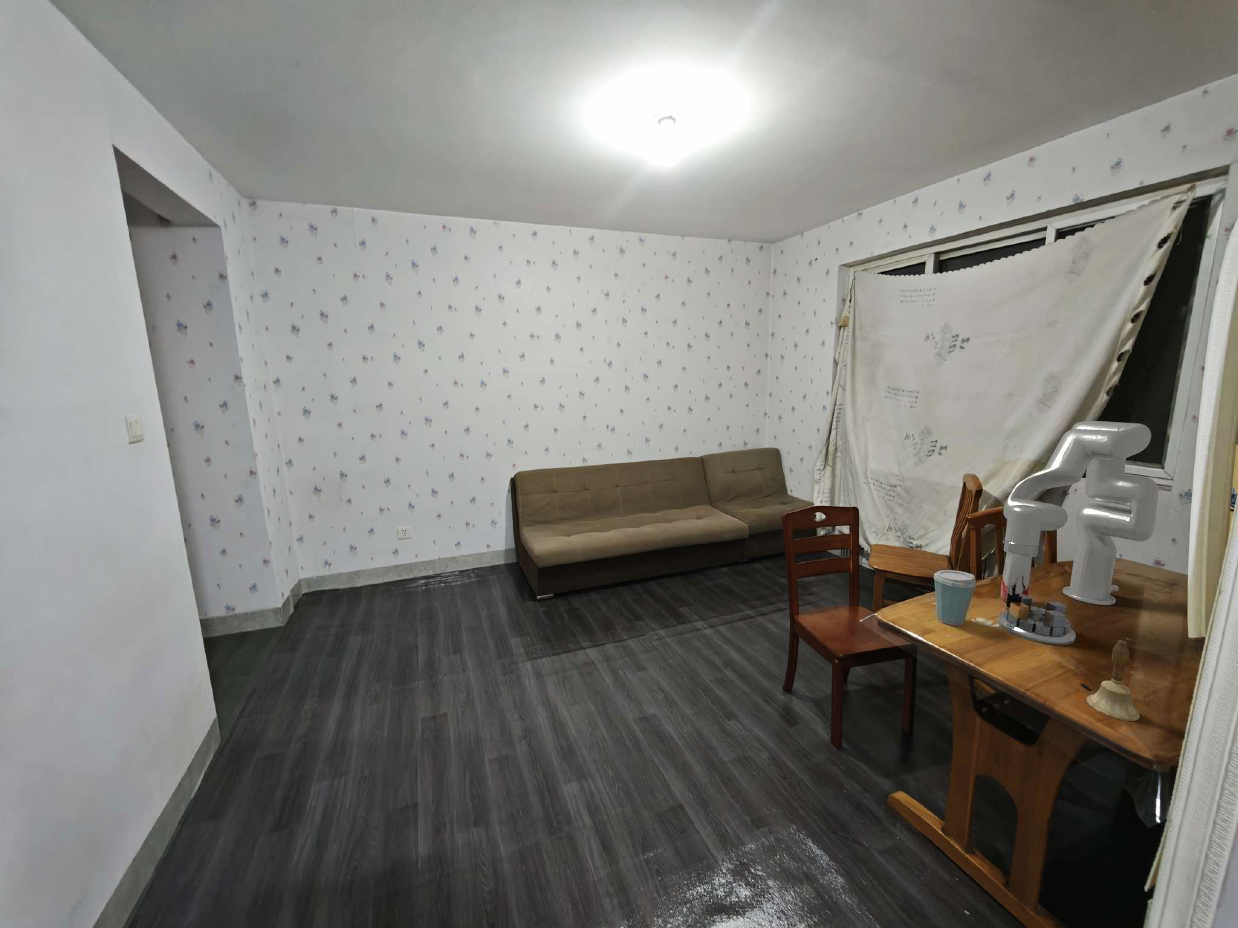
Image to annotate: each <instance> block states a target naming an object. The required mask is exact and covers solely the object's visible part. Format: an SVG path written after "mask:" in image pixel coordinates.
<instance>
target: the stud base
mask: <svg viewBox="0 0 1238 928" xmlns="http://www.w3.org/2000/svg"><path fill="white" fill-rule="evenodd" d="M1044 614H1045V613H1043V612H1040V611H1036V610H1029V616H1028V618H1031V619H1034V620H1037V621H1044ZM1004 615H1005V611H1004V612H1000V613H999V614H998V617H997V624H998V625H999V626H1000V627H1001V628H1002V629H1004V630H1005V631H1007V632H1009V634H1010V633H1011V634H1013V635H1015V636H1017V637H1020V638H1022V639H1025V640H1027V641H1030V642H1031V641H1032V642H1034V643H1039V644H1045V645H1052V646H1068V645H1069V646H1070V645H1072V644H1073V643H1075V641H1076V636H1077V635H1076V632H1075V631H1074V630H1073V628H1071V627H1070V631H1069V633H1068V634H1067V635H1066V636H1064V635H1063V636H1051V635H1049V636H1046V635H1041V634H1035V632H1034V631H1033V632H1029V631H1026V630H1023V629H1020V628H1019V627H1015V626H1014V625H1012V624H1011V623H1009V622H1008V621H1006V619H1005V617H1004Z"/></svg>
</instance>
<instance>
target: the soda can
mask: <svg viewBox="0 0 1238 928" xmlns="http://www.w3.org/2000/svg"><path fill="white" fill-rule="evenodd" d="M1031 583H1032V574H1031V572H1030V579H1029V585H1028V589H1027V590H1024V588H1023V592H1022V594H1024V595H1026V596H1028V597H1030V596H1029V595H1030V589H1031ZM1008 588H1009V587H1007V586H1006V585H1005V583H1004V580H1003V577H1002V579H1001V587H1000V598H1001V599H1002V600H1003V601H1004V602H1006V600H1007V592H1008ZM1008 593H1009V592H1008Z"/></svg>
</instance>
